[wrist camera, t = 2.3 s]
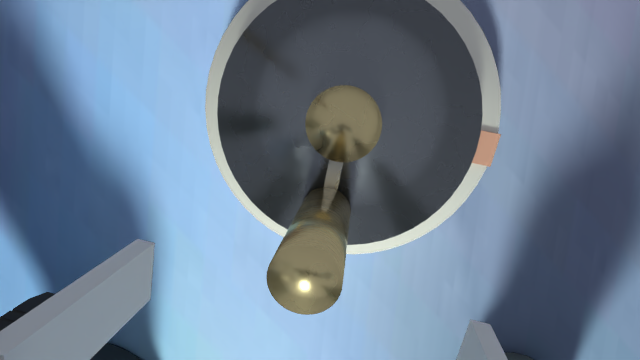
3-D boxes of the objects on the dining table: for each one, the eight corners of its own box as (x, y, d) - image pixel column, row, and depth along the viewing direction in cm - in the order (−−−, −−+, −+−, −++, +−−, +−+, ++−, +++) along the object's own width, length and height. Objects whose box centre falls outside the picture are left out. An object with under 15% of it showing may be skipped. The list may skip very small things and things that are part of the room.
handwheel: (244, -37, 25) (143, -138, 14) (509, 12, 24) (640, -55, 13) (214, 206, 30) (121, 282, 19) (434, 256, 29) (480, 370, 17)
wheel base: (206, 209, 34) (189, 223, 31) (237, -55, 28) (220, -74, 25) (443, 263, 33) (452, 284, 30) (527, -3, 27) (550, -16, 24)
